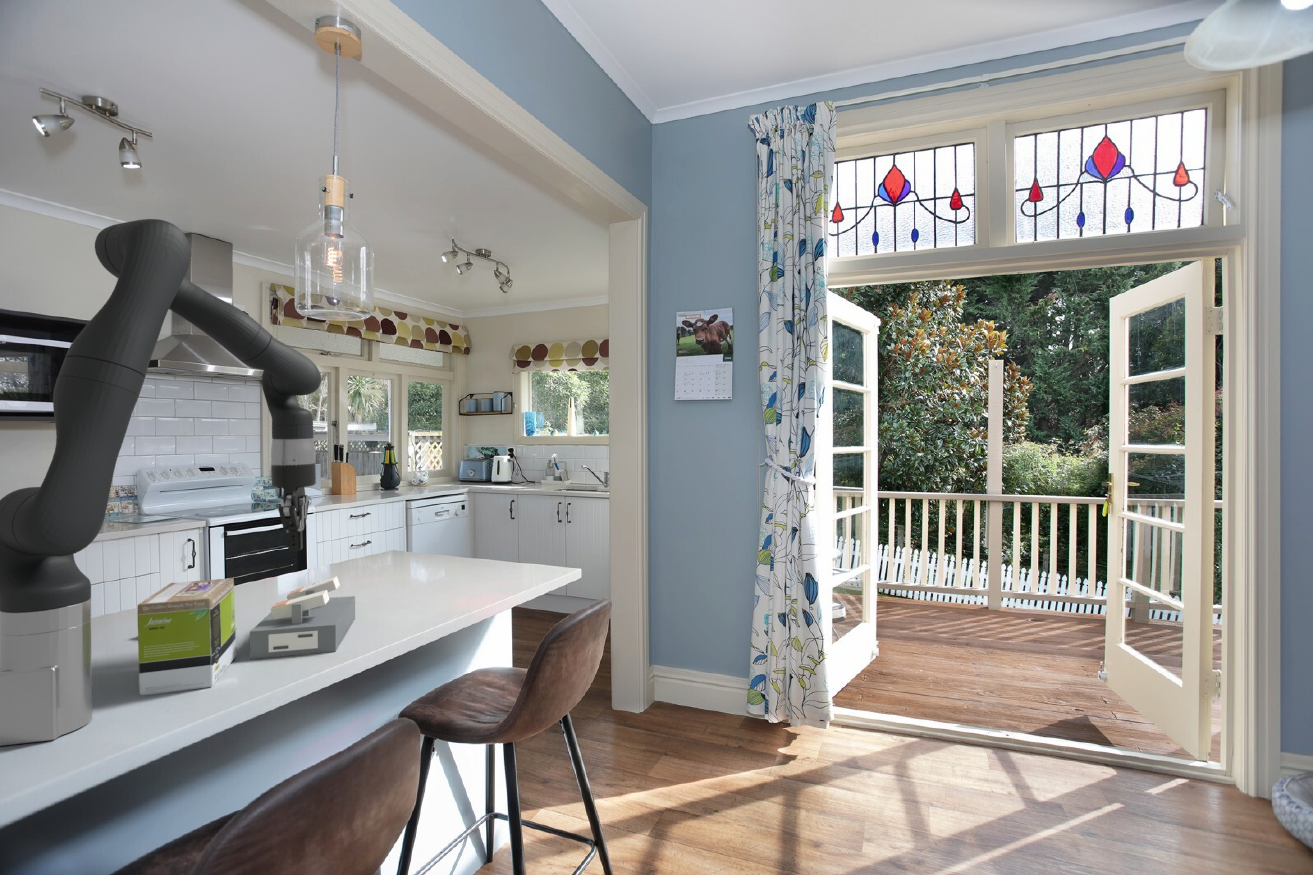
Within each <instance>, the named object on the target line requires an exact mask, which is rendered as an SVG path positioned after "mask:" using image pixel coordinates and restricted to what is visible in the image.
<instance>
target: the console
mask: <svg viewBox="0 0 1313 875" xmlns="http://www.w3.org/2000/svg"><path fill="white" fill-rule="evenodd" d="M316 583H317V582H316ZM316 583H312V584H311V585H313V584H316ZM313 593H315V590H306V595H310V594H313ZM300 597H302V596H300ZM329 599H330V600H329V601H328V602H327V603H326V604H325V605H323V606H319V607H315V608H312V609H308V610H305V611H302V603H296V604H292V614H290V615H287V616H283V617H280V618H276V619H273V616H272V612H271V611H270V612H269V614H267V616H265V617H264V618H263V619H261V621H260V622H258V624H256V625H255V626H254V627H253V628H252V629H251V630H250V631H249V659H250V660H255V659H267V658H277V657H280V658H281V657H289V656H301V655H312V654H313V655H314V654H324V653H335V652H337V650H338V649H339V647H340V645H341V644H342V642H343V640H344V638H345V637H346V635H347V634H348V632H349V630H350V628H351V626H352V625H353V624H354V621H355V620H356V596H355V595H351V596H350V595H349V596H338V597H329Z"/></svg>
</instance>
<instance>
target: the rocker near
mask: <svg viewBox="0 0 1313 875" xmlns="http://www.w3.org/2000/svg"><path fill="white" fill-rule="evenodd" d="M329 598H330V597H329V592H327V590H324V591H321V592H317V593H313V594H310V595H306V596H302V597H299V598H295V599H292V600H288V599H286V600H282V601H278V602H276V603H275V604H274V605H273V606H271V608H270V613H271V612H272V616H273V619H276V618H280V617H283V616H287V615H290V614H292V604H296V603H302V611H305V610H308V609H312V608H315V607H319V606H323V605H325V604H326V603H327V602H328V601H329V600H330V599H329Z"/></svg>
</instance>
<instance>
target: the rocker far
mask: <svg viewBox="0 0 1313 875" xmlns="http://www.w3.org/2000/svg"><path fill="white" fill-rule="evenodd" d="M312 584H313V585H312ZM312 584H310V585H308V586H305V587H300V588H298V589H294V590H292V591H291V592H289V593H287V596H286V600H292V599H295V598H299V597H300V596H306V590H315V593H317V592H321V591H324V590H327V592H328V593H329V592H333V591H335V590H337V589H338V588H339V587H340V586H341V584H340V582H339V578H338V576H337V575H336V576H333V577H331V578H327V579H323V580H322V581H319V582H316V584H315V583H312Z"/></svg>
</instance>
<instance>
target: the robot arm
mask: <svg viewBox="0 0 1313 875" xmlns="http://www.w3.org/2000/svg"><path fill="white" fill-rule="evenodd" d="M94 250H95V251H94V252H95V255H96V257H97V259H98V261H99V262H100V264H101V266H103V268H104V269H105V270H106V271H107V272H108V273H110V274H111V275H112V276H114V277H115V278H116V280H117V281H116V284H115V286H114V288H113V291H112V292H111V294H110V296H109V297H108V299H107V301H106V302H105V303H104V304H103V305H102V307H100V309H99V310H98V312H97V313H96V314H95V315H94V316H93V317H92V318H91V319H90V320H89V322H88V323H87V324H86V325H85V326H84V327H83V329H81V331H80V332H79V333H78V334H77V335H76V337H75V339H74V340H73V341H72V343H71V344H70V346H69V348H68V350H67V352H66V354H65V358H64V359H63V362H62V365H61V367H60V369H59V373H58V375H57V378H56V381H55V385H54V387H53V394H52V395H53V397H52V406H53V415H54V417H53V418H54V423H55V434H56V436H55V438H56V440H55V449H54V453H53V455H52V458H51V462H50V465H49V466H48V468H47V469H48V470H47V471H46V473H45V474H46V475H45V476H44V478H43V481H42V483H41V485H40V486H30V487H29V486H28V487H23V488H20V489H17V490H14V491H11V492H9V493H8V494H6V495H5V496H4V497H1V499H0V746H9V745H10V746H11V745H19V744H29V743H36V742H44V741H53V740H57V738H59V737H60V736H63V735H66V734H69V733H71V732H73V731H75V730H78V729H80V728H82V727H84V726H86V725H87V724H88V723H90V721H92V717H93V716H92V713H93V712H92V711H93V708H92V707H93V706H92V705H93V704H92V703H93V702H92V700H93V698H92V697H93V696H92V695H93V691H92V690H93V689H92V688H93V686H92V682H93V681H92V673H93V672H92V583H91V581H90V579H89V577H88V576H86V575H85V573H83V571H81V570H80V568H79V567H78V566H77V563H76V561H75V556H74V554H76V553H79V552H80V551H83V550H84V549H86V548H87V547H88V546H90V544H91V543H93V542H94V540H95V539H96V538H97V536H98V535H99V533H100V531H101V529H102V527H103V524H104V521H105V518H106V514H107V508H108V503H109V499H110V493H111V488H112V484H113V479H114V474H115V469H116V464H117V461H118V457H119V454H120V451H121V448H122V446H123V442H124V440H125V437H126V433H127V430H128V428H129V424H130V421H131V418H132V415H133V412H134V409H135V407H136V405H137V403H138V400H139V396H140V394H141V391H142V388H143V386H144V383H145V379H146V376H147V373H148V368H149V365H150V361H151V359H152V356H153V353H154V352H155V348H156V345H157V342H158V340H159V336H160V333H161V331H162V329H163V328H162V327H163V324H164V321H165V319H166V317H167V315H168V311H169V310H170V311H171V312H174V313H175V314H176V315H178V316H179V317H181V318H183V319H184V320H186V321H187V322H188V323H190V324H192V325H194V327H196V328H197V329H198V330H200V331H202V332H203V333H204V334H206V335H207V336H209V337H210V338H211V339H212V340H214V341H215V342H216V343H217V344H219V345H220V346H222V347H223V348H224V349H225V350H227V351H228V352H229V353H230V354H232V356H234V357H235V358H237V359H238V360H239V361H240V362H242V363H243V364H244V365H245V366H247V367H250V368H251V369H256V370H261V371H263V372H262V375H261V387H262V392H263V395H264V398H265V399H264V400H265V401H266V405H267V408H268V412H269V414H270V417H271V448H270V469H271V470H270V471H271V486H272V488H275V489H276V488H278V489H283V494H282V496H281V497H280V506H279V507H278V513H279V517H280V520H281V525H282V528H283V531H286V533H287V547H288V548H287V550H288V551H289V552H300V551H301V550H302V549H303V547H304V545H303V540H304V539H303V531H304V529H305V527H306V524H307V519H308V510H309V505H310V500H309V495H308V494H306V490H305V488H307V487H312V486H315V485H316V483H317V479H316V478H317V477H316V474H317V473H316V469H317V468H316V448H315V442H314V417H313V413H312V411H310V410H309V409H306V408H303V407H301V406H300V403H299V400H298V397H297V396H307V395H311V394H313V393H315V392H316V391H317V390H318V389H319V387H320V386H321V384H322V377H321V372H320V370H319V368H318V367H317V365H316V364H315V363H314V362H313V361H312V360H311V359H310V358H309V357H307V356H306V355H304V354H303V353H301V352H299V351H298V350H296V349H294V348H293V347H291V346H290V345H288V344H286V343H284V342H282V341H280V340H278V339H277V338H275V337H274V336H273V335H272V334H271V333H270V332H269V331H267V329H265V328H264V327H263V326H262V325H261V324H260V323H259V322H257V320H256V319H254V318H253V317H251V316H250V315H249V314H247V312H245V311H243V310H242V309H240V308H238V307H237V306H235V305H233V304H231V303H229V302H227V301H226V300H224V299H221V298H219V297H218V296H215V295H214V294H212V293H210V292H208V291H206V290H204V289H203V288H201V287H200V286H199V285H197V284H195V283H193V281H191V280H189V279H188V278H187V277H186V276H187V273H188V271H189V268H190V264H191V259H192V252H191V245H190V242H189V240H188V239H187V237H186V235H185V233H184V232H183V231H182V230H181V229H180V228H179V227H178V226H177V225H175V224H174V223H172V222H169V221H166V220H163V219H157V218H144V219H143V218H142V219H137V220H131V221H126V222H121V223H116V224H112V225H109V226H107V227H105V228H103V229H102V230H100V232H99V233H98V234H97V236H96V238H95V240H94Z"/></svg>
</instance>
